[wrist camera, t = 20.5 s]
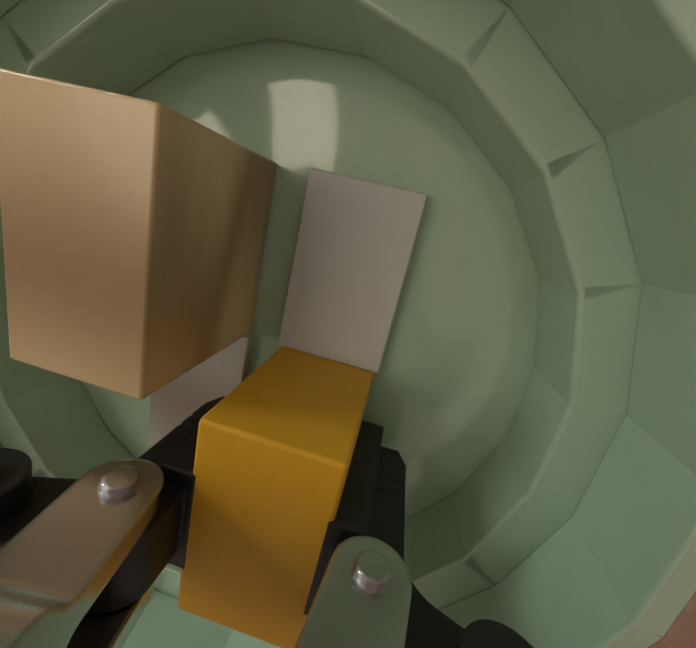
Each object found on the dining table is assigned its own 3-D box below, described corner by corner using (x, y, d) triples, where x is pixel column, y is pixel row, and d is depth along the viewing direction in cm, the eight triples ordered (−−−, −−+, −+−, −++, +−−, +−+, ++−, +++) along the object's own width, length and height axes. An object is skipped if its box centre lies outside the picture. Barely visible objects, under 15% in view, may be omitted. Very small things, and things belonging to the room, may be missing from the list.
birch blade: (178, 140, 9) (-18, 62, 5) (282, 164, 8) (166, 102, 4) (155, 437, 11) (16, 549, 7) (234, 463, 11) (133, 594, 7)
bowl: (24, -64, 9) (-399, -388, 4) (730, 55, 7) (1333, -279, 2) (43, 468, 14) (-145, 589, 9) (465, 619, 12) (500, 865, 7)
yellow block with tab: (342, 498, 11) (301, 658, 7) (258, 470, 11) (170, 607, 7) (427, 196, 8) (443, 160, 4) (314, 169, 8) (225, 113, 4)
